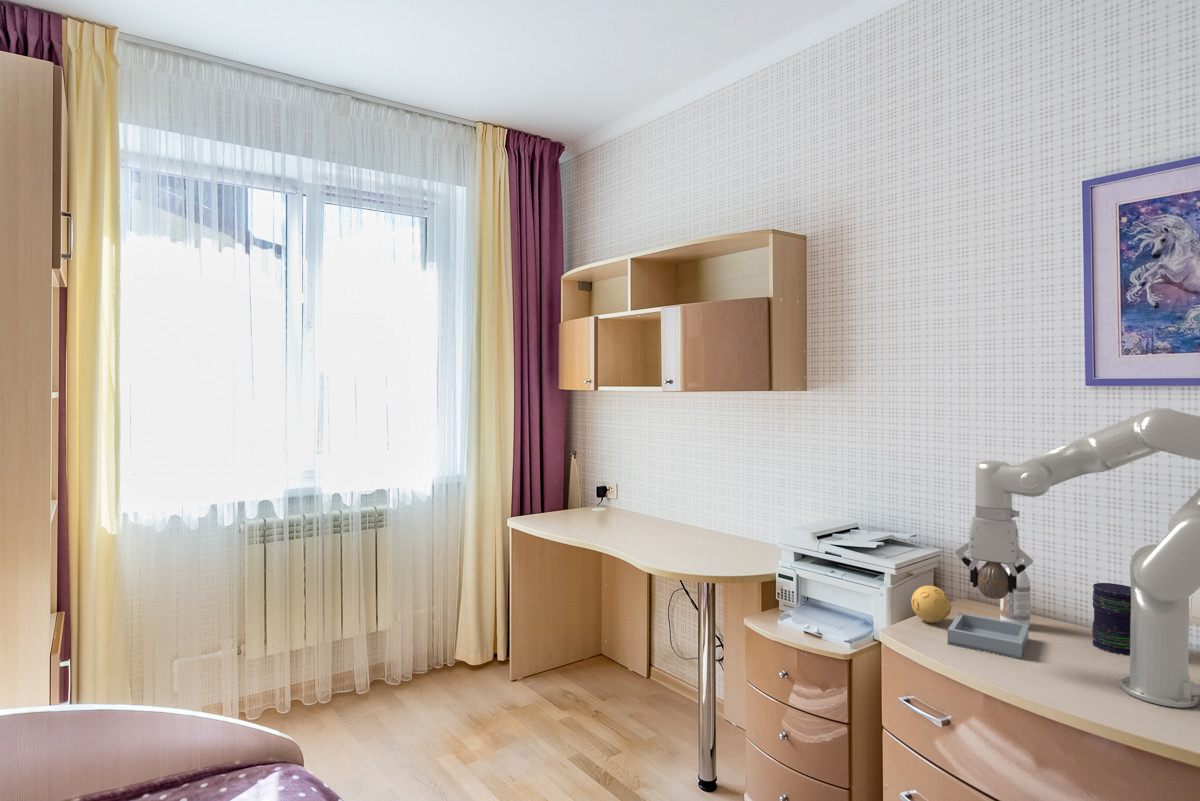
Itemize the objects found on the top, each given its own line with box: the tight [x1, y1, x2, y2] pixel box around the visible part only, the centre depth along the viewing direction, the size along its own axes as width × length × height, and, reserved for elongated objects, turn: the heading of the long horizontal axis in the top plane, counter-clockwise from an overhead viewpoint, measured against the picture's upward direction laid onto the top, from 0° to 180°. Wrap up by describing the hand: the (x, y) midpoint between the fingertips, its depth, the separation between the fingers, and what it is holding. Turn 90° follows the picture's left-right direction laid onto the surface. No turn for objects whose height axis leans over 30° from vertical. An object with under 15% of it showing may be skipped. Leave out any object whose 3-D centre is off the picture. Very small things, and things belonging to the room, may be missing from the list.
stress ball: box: [910, 585, 952, 624], centre depth 186 cm, size 10×10×10 cm
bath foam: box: [999, 556, 1031, 628], centre depth 183 cm, size 7×7×20 cm
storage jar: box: [1091, 582, 1131, 656], centre depth 168 cm, size 10×10×15 cm
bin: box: [947, 612, 1030, 661], centre depth 172 cm, size 16×16×4 cm
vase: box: [977, 561, 1009, 600], centre depth 159 cm, size 7×7×9 cm
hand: (993, 588), depth 159 cm, fingers closed on vase, 6 cm apart
